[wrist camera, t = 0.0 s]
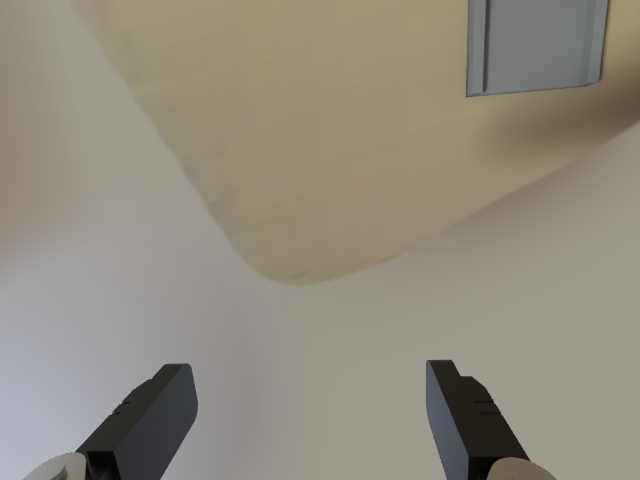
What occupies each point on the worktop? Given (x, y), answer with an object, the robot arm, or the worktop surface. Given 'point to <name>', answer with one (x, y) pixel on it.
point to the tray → (533, 45)
